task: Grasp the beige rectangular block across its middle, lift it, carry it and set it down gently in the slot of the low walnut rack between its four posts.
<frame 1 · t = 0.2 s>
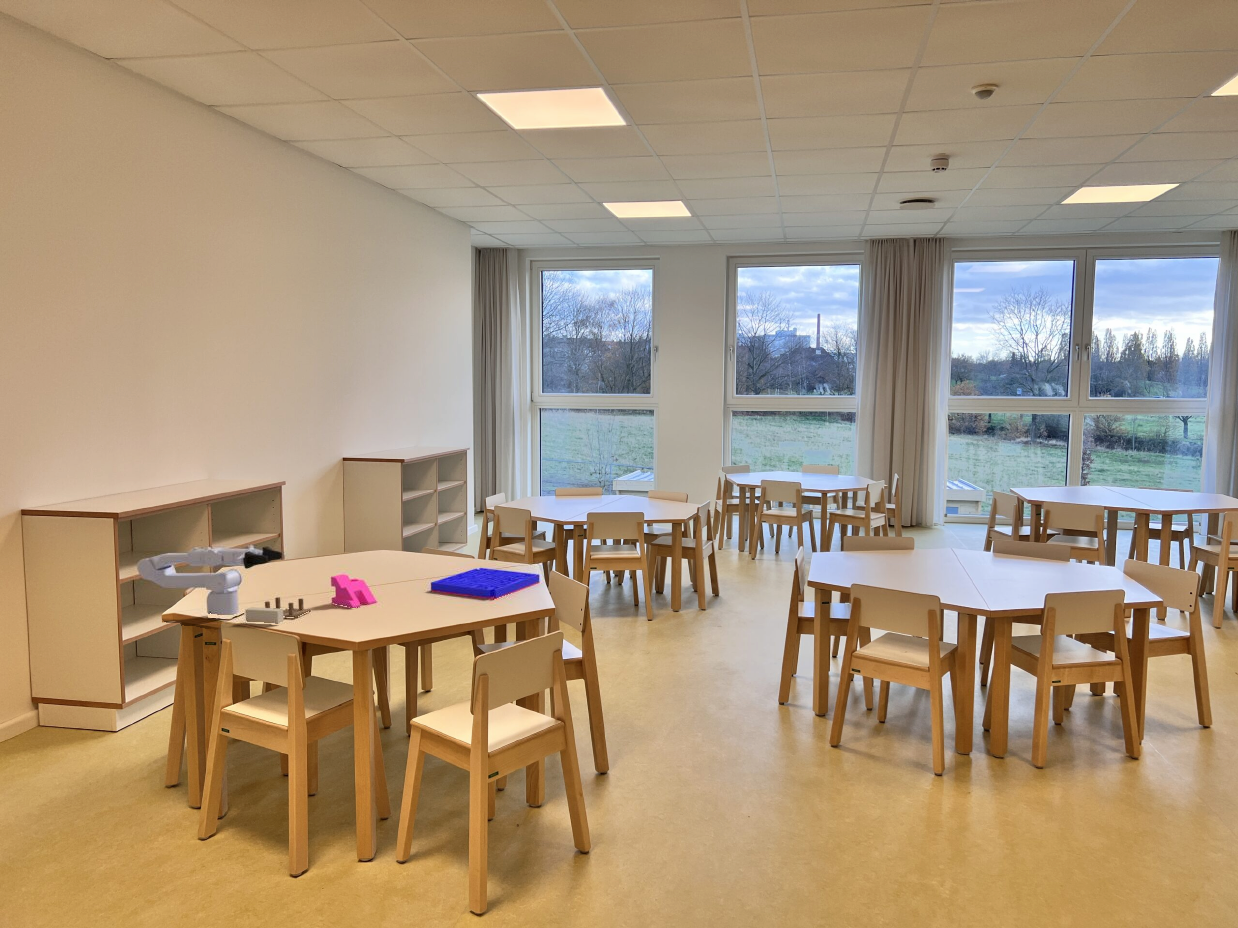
hand: (274, 557, 278), 21 cm above the table, tool horizontal, fingers open, 7 cm apart
rack: (284, 614, 286), on the table
beige rectangular block: (264, 623, 275), on the table
maze: (486, 588, 324), on the table
bracket: (354, 604, 300), on the table
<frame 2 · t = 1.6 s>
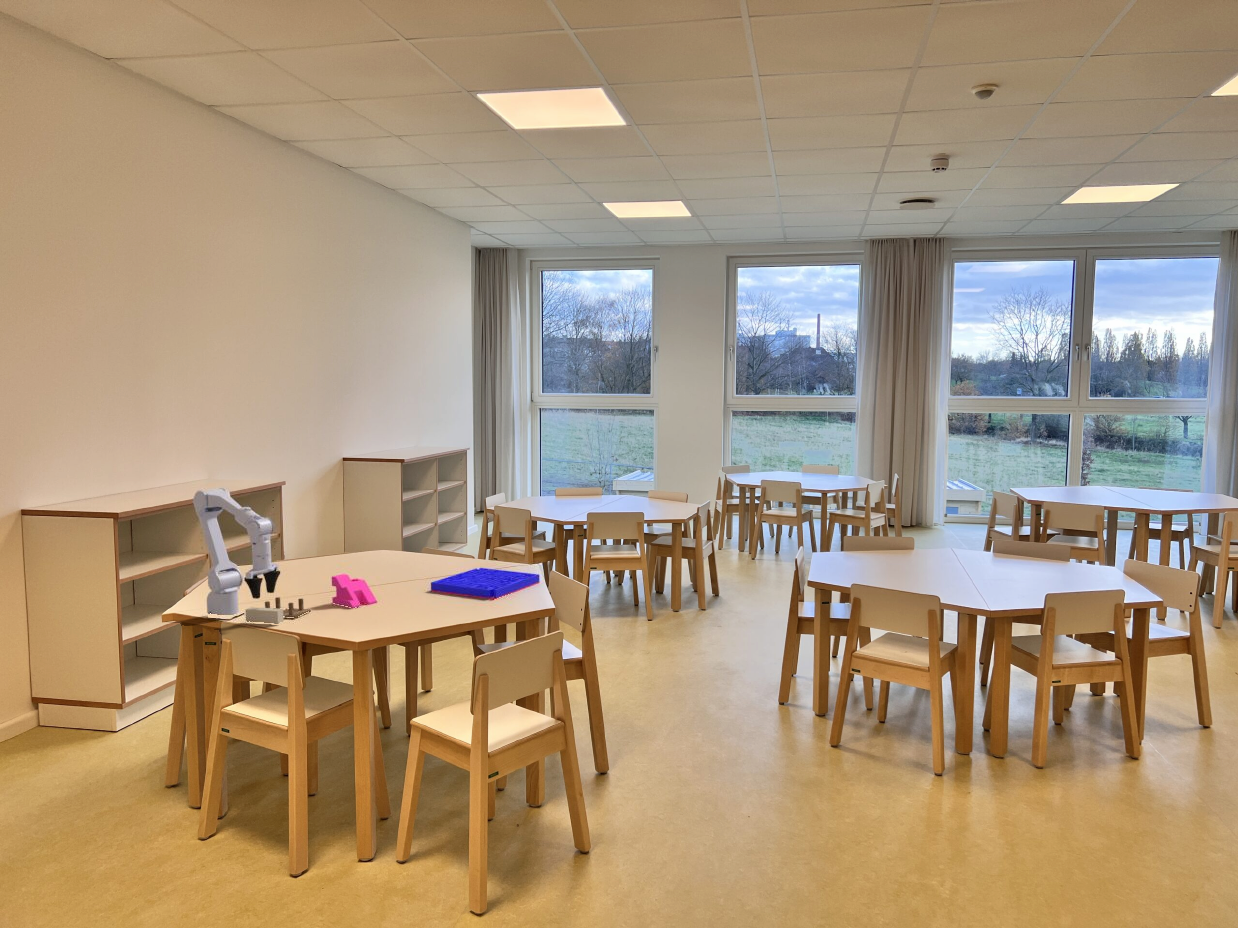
hand: (263, 595, 274), 9 cm above the table, tool pointing down, fingers open, 7 cm apart
nothing on the table moved.
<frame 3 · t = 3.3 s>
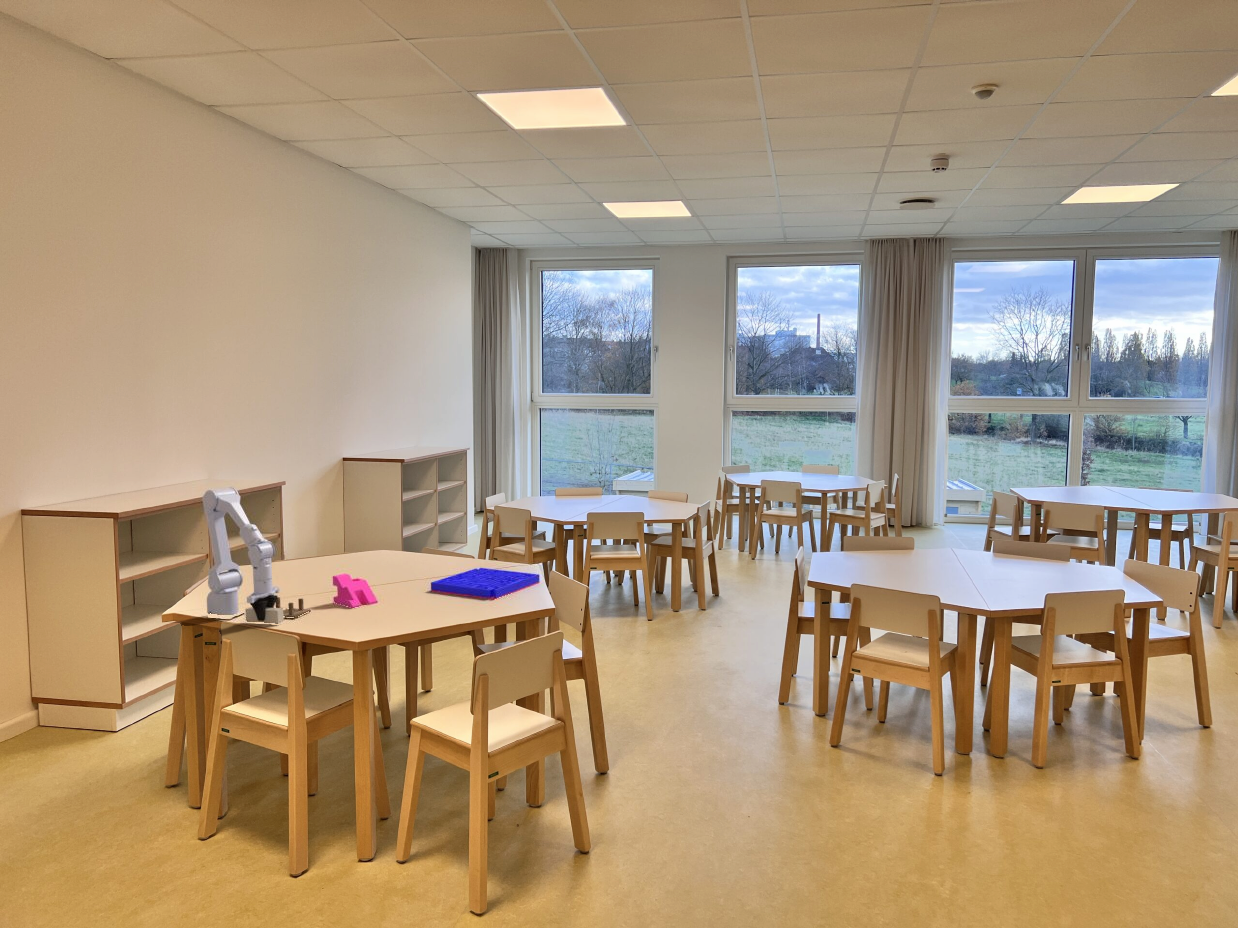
hand: (264, 619, 275), 1 cm above the table, tool pointing down, fingers closed on beige rectangular block, 3 cm apart
beige rectangular block: (264, 623, 275), on the table, touching gripper
everything else where it was.
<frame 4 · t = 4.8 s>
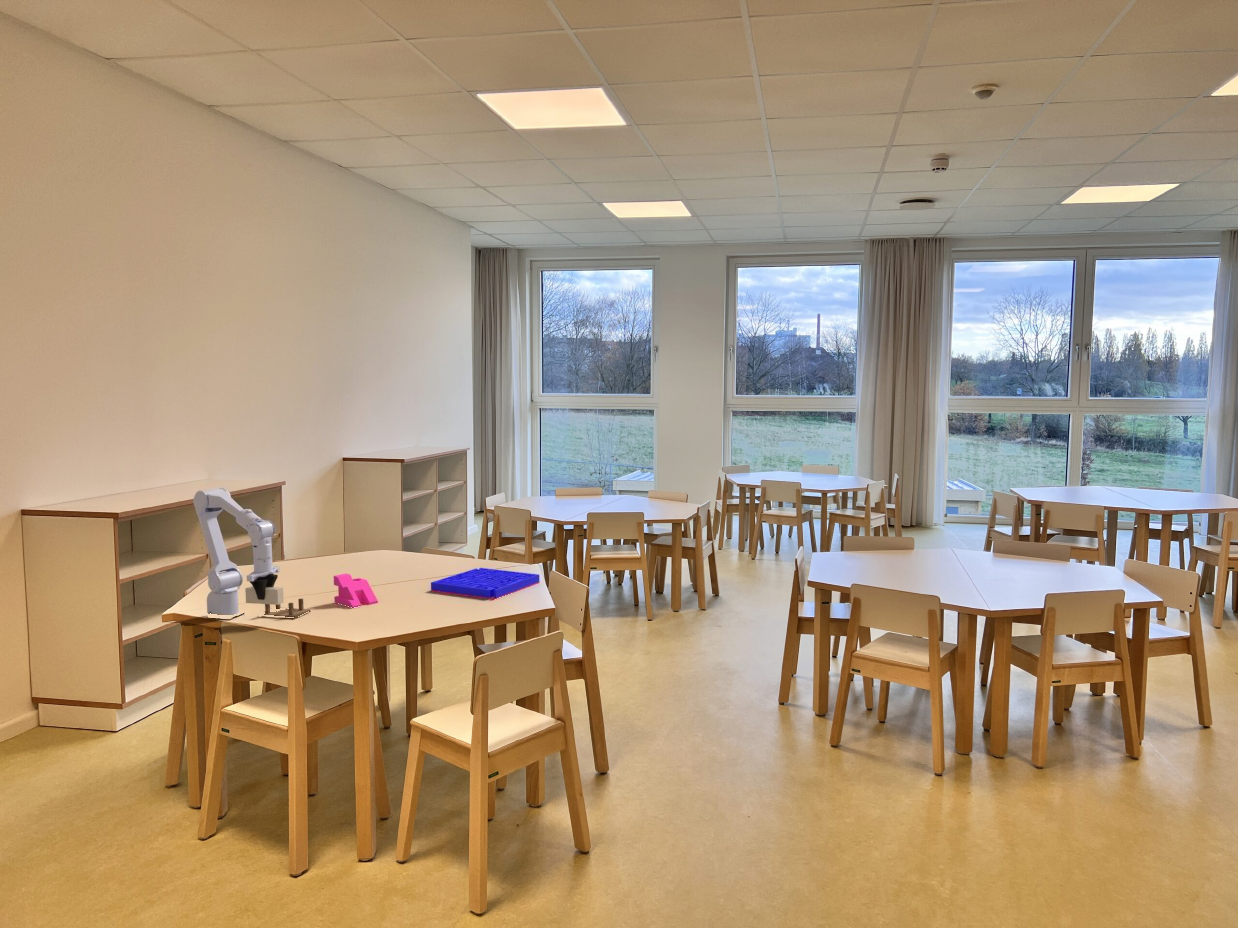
hand: (264, 598, 275), 8 cm above the table, tool pointing down, fingers closed on beige rectangular block, 3 cm apart
beige rectangular block: (264, 602, 275), point 7 cm above the table, touching gripper
everything else where it was.
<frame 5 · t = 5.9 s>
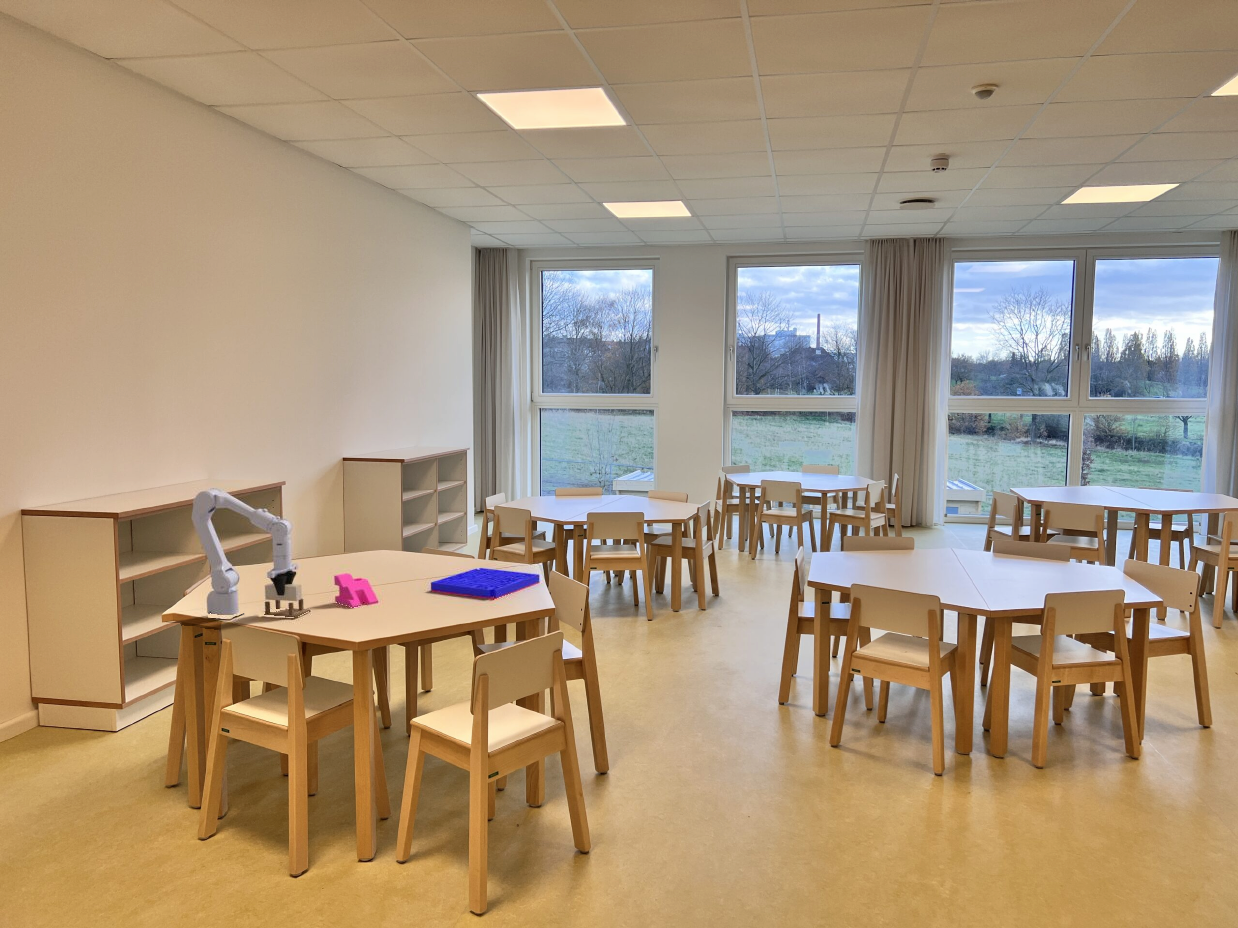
hand: (283, 594, 285), 7 cm above the table, tool pointing down, fingers closed on beige rectangular block, 3 cm apart
beige rectangular block: (283, 599, 285), point 5 cm above the table, touching gripper
when the fingers open (4 cm above the table, at t = 6.7 s): beige rectangular block drops 1 cm, resting on rack.
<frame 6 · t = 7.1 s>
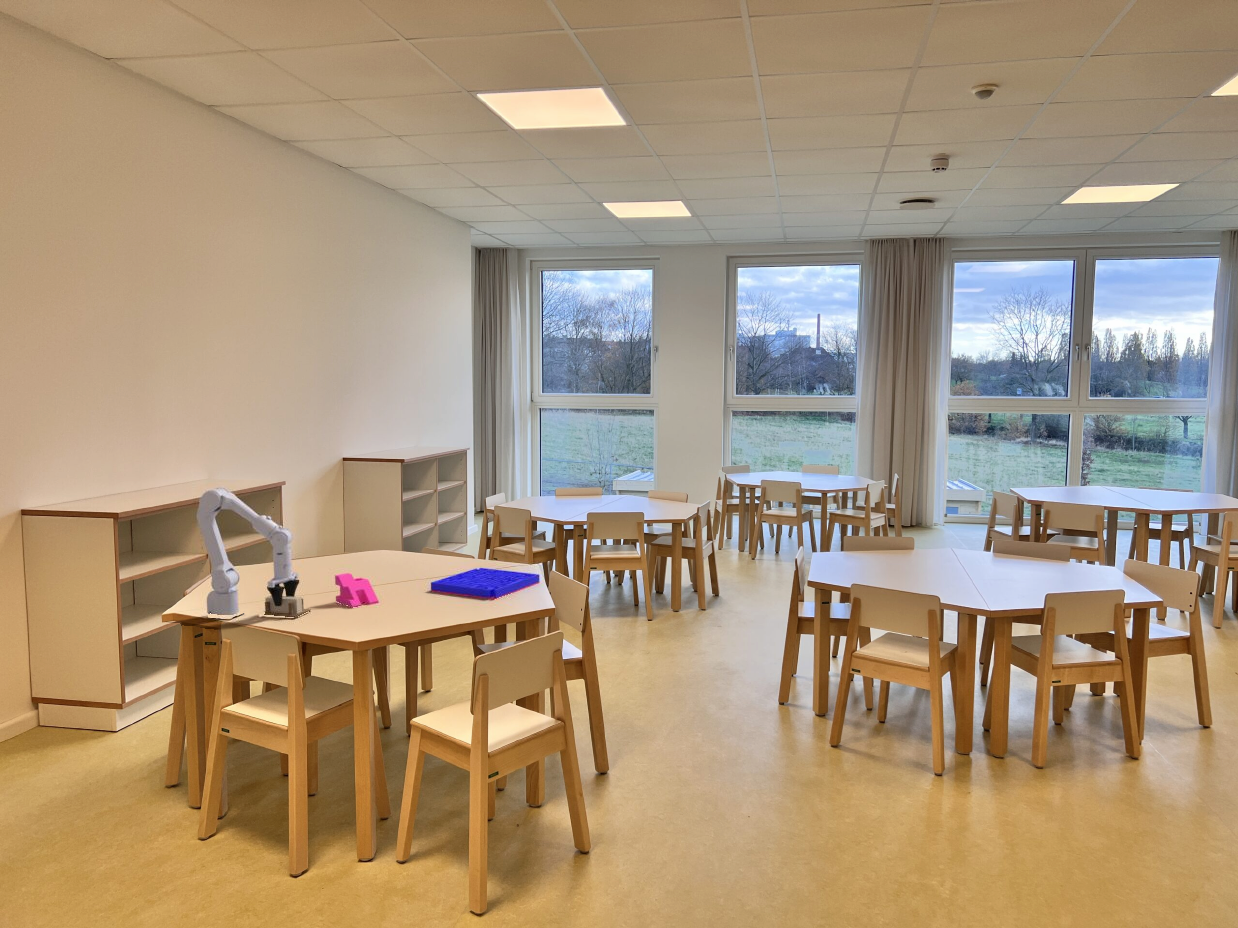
hand: (284, 603, 285), 4 cm above the table, tool pointing down, fingers open, 6 cm apart
beige rectangular block: (284, 611, 286), point 1 cm above the table, touching rack
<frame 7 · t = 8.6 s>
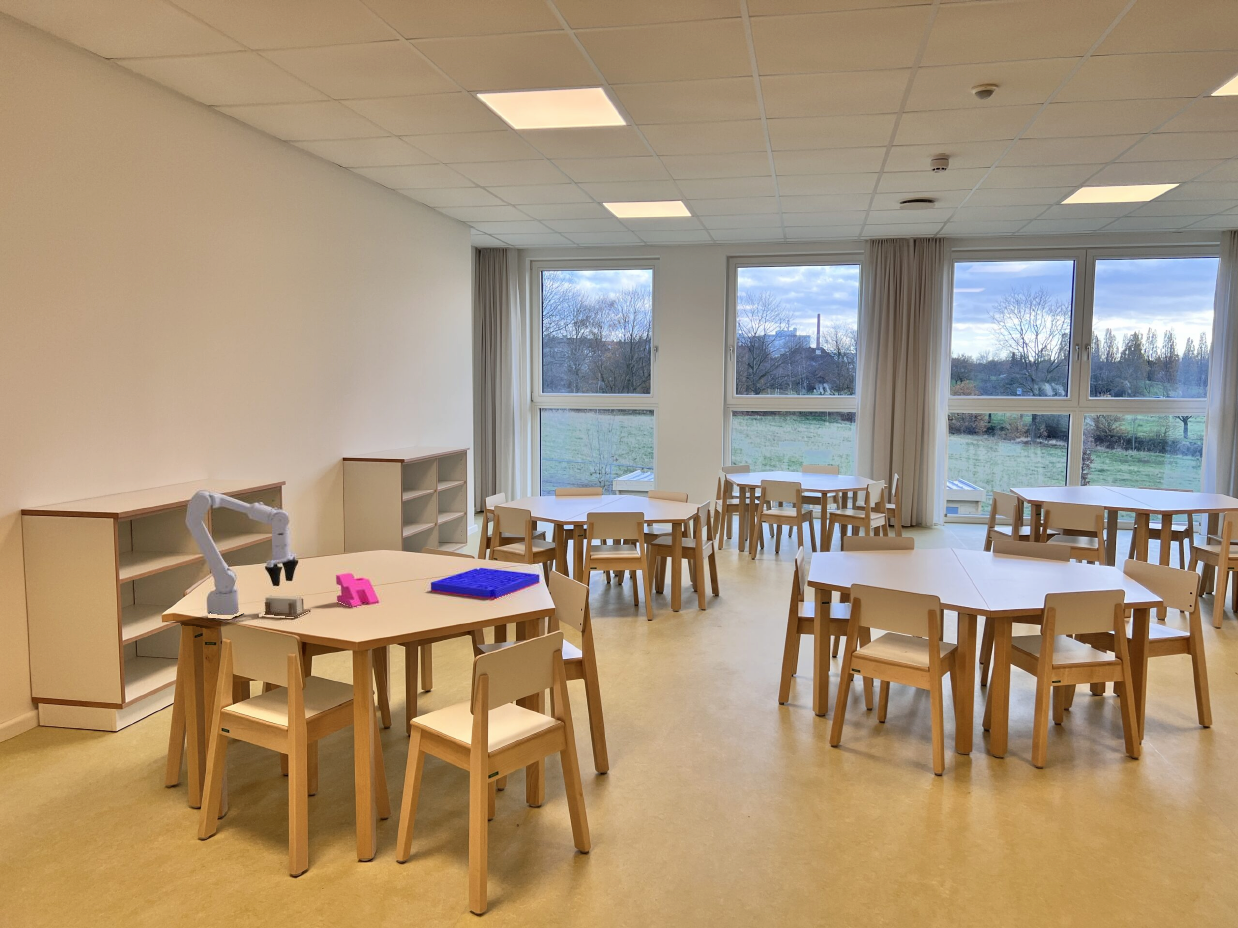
hand: (282, 583, 289), 10 cm above the table, tool pointing down, fingers open, 7 cm apart
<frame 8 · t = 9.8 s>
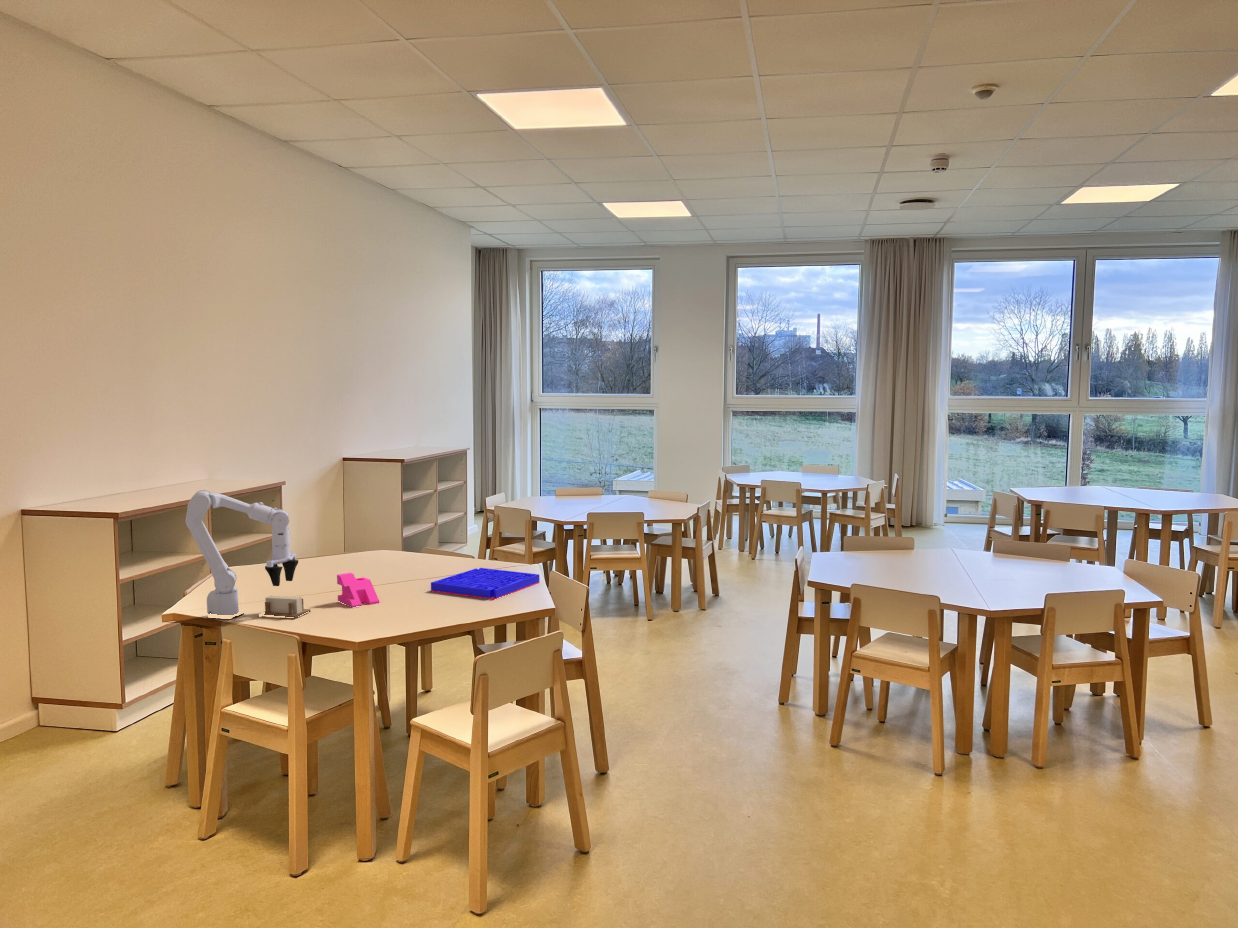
hand: (282, 583, 289), 10 cm above the table, tool pointing down, fingers open, 7 cm apart
at the end: beige rectangular block 0.2 cm off-centre on the rack, point 1.0 cm above the rack's base; beige rectangular block tilted 0°; the gripper is holding nothing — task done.
